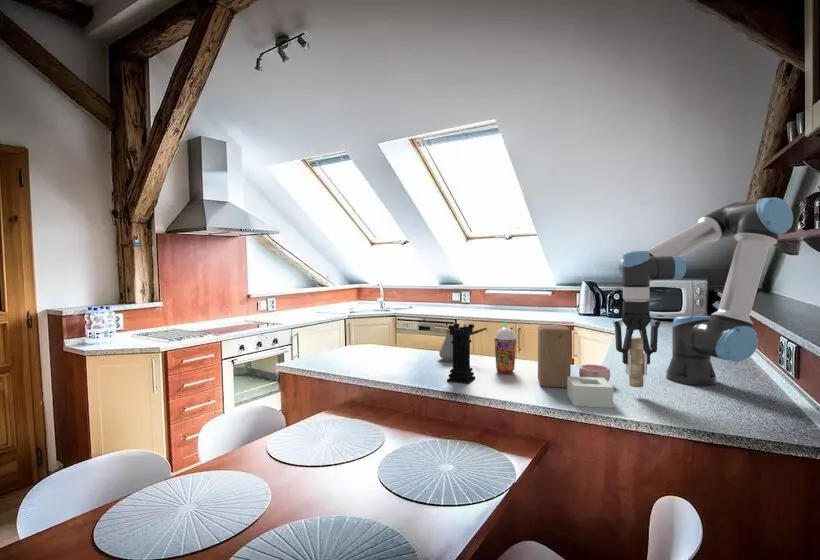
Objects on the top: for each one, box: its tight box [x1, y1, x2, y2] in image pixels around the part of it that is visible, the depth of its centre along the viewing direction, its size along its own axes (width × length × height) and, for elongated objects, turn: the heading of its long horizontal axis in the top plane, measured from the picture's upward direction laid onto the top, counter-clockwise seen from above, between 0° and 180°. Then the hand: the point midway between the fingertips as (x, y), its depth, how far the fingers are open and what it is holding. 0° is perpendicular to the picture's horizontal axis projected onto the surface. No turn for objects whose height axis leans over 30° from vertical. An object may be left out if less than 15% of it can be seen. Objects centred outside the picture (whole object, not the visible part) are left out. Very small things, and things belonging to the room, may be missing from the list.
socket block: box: [566, 375, 614, 409], centre depth 137 cm, size 11×11×6 cm
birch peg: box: [628, 336, 644, 388], centre depth 141 cm, size 4×4×15 cm
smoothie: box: [494, 320, 517, 375], centre depth 172 cm, size 8×8×20 cm
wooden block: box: [537, 324, 572, 389], centre depth 156 cm, size 10×10×20 cm
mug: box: [578, 364, 611, 382], centre depth 157 cm, size 12×10×6 cm
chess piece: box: [446, 322, 476, 385], centre depth 161 cm, size 8×8×20 cm
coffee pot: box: [439, 327, 489, 363], centre depth 192 cm, size 21×12×15 cm, turn 66°
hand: (636, 374), depth 141 cm, fingers closed on birch peg, 4 cm apart
